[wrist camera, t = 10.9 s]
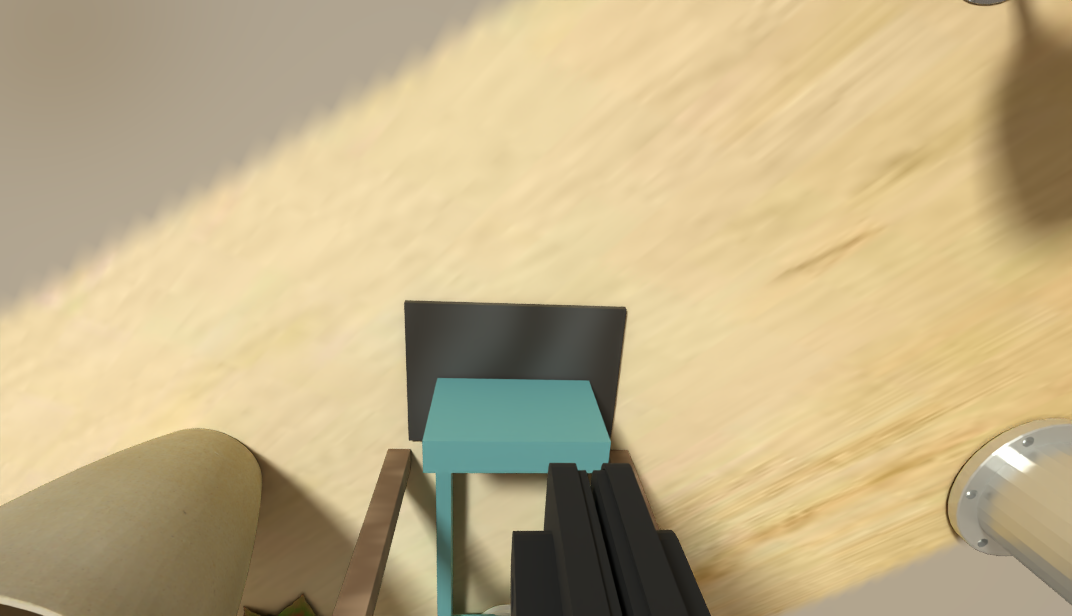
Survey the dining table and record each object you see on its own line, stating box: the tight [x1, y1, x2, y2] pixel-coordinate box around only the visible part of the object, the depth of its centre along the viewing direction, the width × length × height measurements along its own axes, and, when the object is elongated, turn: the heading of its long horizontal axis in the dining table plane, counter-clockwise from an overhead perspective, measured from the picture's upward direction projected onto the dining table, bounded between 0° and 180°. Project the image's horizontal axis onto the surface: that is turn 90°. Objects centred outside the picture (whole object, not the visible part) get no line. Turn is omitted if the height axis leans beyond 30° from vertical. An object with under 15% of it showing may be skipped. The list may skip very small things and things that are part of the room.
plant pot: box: [0, 428, 262, 616], centre depth 27 cm, size 15×15×16 cm
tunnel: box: [332, 300, 659, 616], centre depth 29 cm, size 17×23×16 cm
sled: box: [422, 378, 611, 616], centre depth 35 cm, size 10×31×7 cm, turn 177°
